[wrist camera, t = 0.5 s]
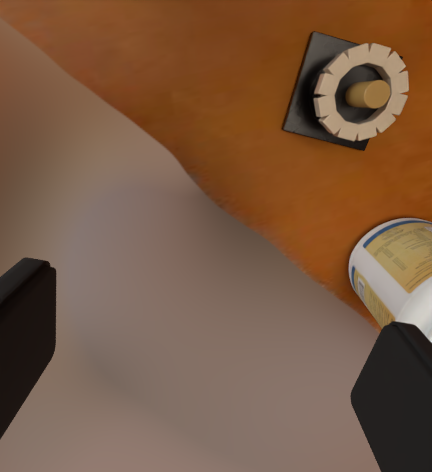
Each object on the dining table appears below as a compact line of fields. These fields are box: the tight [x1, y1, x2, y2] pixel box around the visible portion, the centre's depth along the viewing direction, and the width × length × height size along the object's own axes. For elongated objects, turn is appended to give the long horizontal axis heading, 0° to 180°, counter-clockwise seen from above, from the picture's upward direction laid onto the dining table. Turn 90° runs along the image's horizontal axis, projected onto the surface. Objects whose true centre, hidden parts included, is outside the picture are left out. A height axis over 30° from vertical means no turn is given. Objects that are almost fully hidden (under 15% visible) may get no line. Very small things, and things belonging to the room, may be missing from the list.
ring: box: [314, 43, 409, 141], centre depth 28 cm, size 7×7×1 cm
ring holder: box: [282, 31, 403, 151], centre depth 29 cm, size 9×9×9 cm
